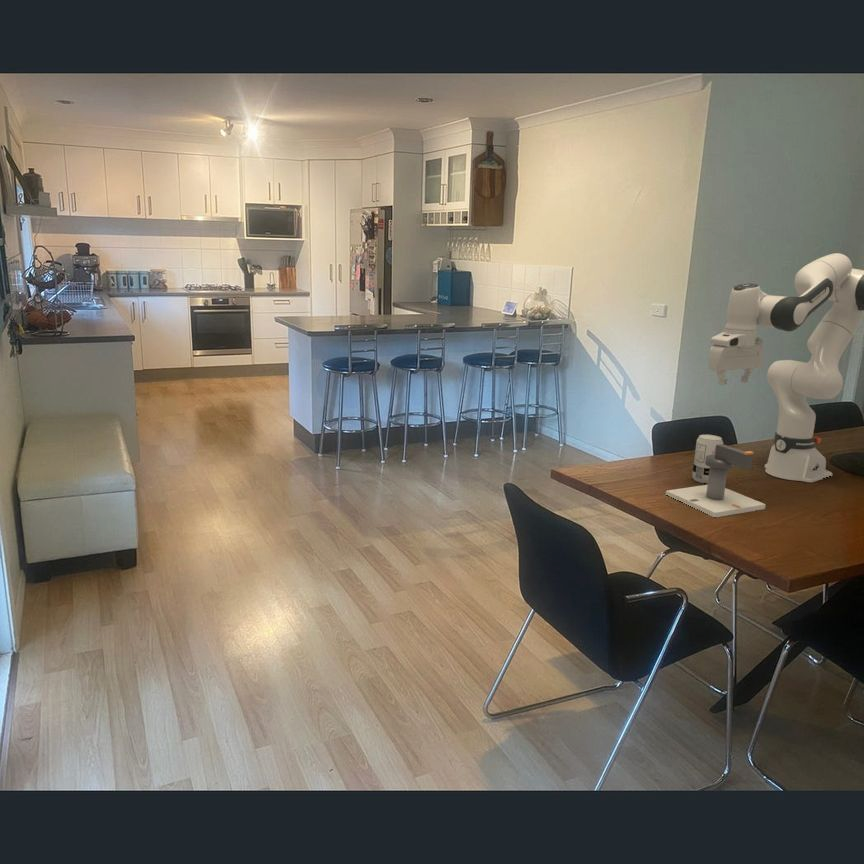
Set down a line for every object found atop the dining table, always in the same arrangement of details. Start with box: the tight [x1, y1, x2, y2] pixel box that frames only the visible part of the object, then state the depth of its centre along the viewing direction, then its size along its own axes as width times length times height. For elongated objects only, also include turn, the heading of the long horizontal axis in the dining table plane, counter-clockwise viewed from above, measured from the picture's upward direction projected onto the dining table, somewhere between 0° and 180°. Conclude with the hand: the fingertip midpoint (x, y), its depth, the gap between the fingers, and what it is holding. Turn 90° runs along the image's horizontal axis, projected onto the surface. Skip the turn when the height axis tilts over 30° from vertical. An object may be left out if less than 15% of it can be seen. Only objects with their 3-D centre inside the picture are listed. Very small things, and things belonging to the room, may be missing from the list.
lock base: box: [665, 467, 767, 518], centre depth 212 cm, size 20×20×12 cm
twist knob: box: [705, 443, 755, 470], centre depth 207 cm, size 14×8×7 cm, turn 24°
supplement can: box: [691, 434, 724, 485], centre depth 232 cm, size 8×8×15 cm
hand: (733, 383), depth 215 cm, fingers open, 8 cm apart
